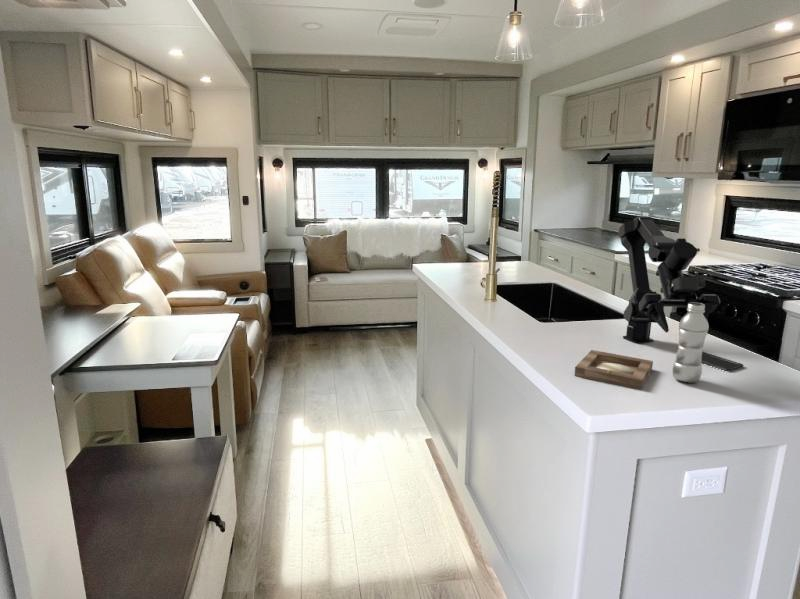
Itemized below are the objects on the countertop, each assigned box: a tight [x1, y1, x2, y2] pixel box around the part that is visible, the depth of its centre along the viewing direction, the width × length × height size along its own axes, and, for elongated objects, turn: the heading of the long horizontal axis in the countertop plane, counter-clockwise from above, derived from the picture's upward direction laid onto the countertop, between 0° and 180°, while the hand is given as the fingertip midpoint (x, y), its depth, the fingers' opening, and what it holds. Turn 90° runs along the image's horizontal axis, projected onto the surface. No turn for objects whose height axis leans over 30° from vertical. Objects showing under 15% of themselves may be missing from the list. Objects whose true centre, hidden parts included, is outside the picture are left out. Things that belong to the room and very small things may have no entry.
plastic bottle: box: [671, 302, 710, 383], centre depth 135 cm, size 6×7×20 cm
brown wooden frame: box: [574, 349, 654, 390], centre depth 142 cm, size 16×16×3 cm
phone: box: [701, 351, 744, 372], centre depth 151 cm, size 8×1×15 cm
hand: (685, 332), depth 138 cm, fingers open, 9 cm apart
